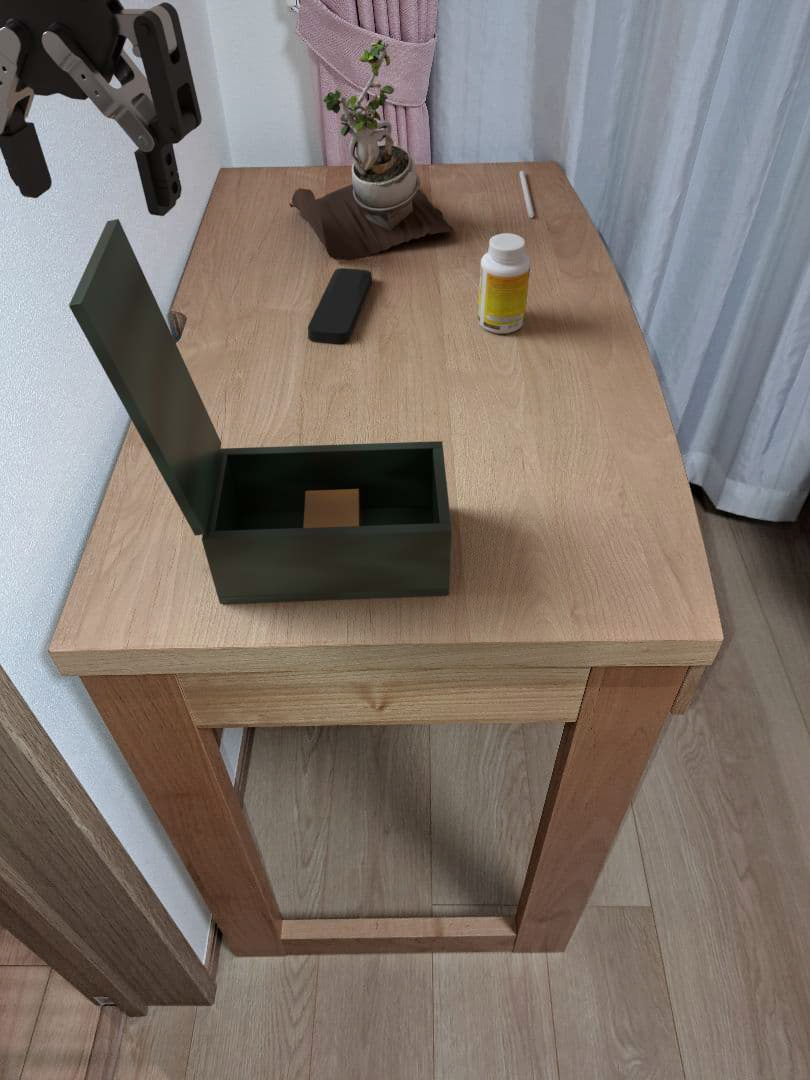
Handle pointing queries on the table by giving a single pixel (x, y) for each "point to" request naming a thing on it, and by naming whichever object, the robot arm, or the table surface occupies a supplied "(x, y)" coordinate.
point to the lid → (148, 372)
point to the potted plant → (370, 183)
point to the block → (332, 508)
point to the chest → (329, 552)
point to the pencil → (526, 194)
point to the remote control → (340, 306)
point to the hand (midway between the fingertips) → (100, 201)
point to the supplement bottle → (503, 284)
